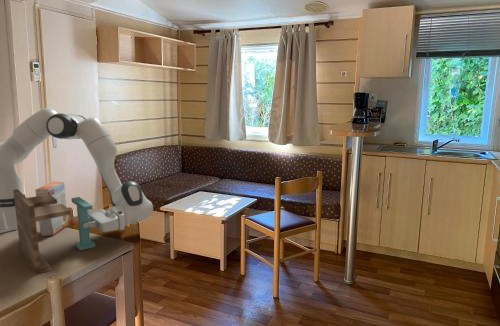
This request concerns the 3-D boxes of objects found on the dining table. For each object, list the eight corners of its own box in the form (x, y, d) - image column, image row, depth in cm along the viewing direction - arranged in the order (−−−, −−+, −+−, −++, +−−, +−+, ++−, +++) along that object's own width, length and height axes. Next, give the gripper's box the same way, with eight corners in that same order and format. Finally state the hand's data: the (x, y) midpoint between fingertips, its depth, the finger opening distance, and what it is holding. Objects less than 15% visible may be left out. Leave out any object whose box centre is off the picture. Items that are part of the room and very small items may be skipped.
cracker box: (56, 225, 180) (52, 181, 176) (69, 225, 179) (65, 181, 176) (39, 236, 166) (34, 188, 162) (53, 236, 166) (48, 189, 162)
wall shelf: (54, 241, 160) (48, 184, 156) (75, 263, 139) (69, 199, 135) (20, 248, 153) (13, 189, 148) (36, 274, 131) (29, 206, 127)
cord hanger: (86, 238, 163) (82, 196, 160) (99, 250, 151) (96, 204, 148) (71, 242, 159) (67, 198, 156) (83, 254, 147) (79, 207, 144)
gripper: (105, 204, 169) (72, 210, 160) (124, 215, 153) (88, 223, 145) (106, 217, 170) (73, 224, 161) (125, 230, 155) (90, 239, 146)
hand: (81, 224), depth 153 cm, fingers closed on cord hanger, 3 cm apart
